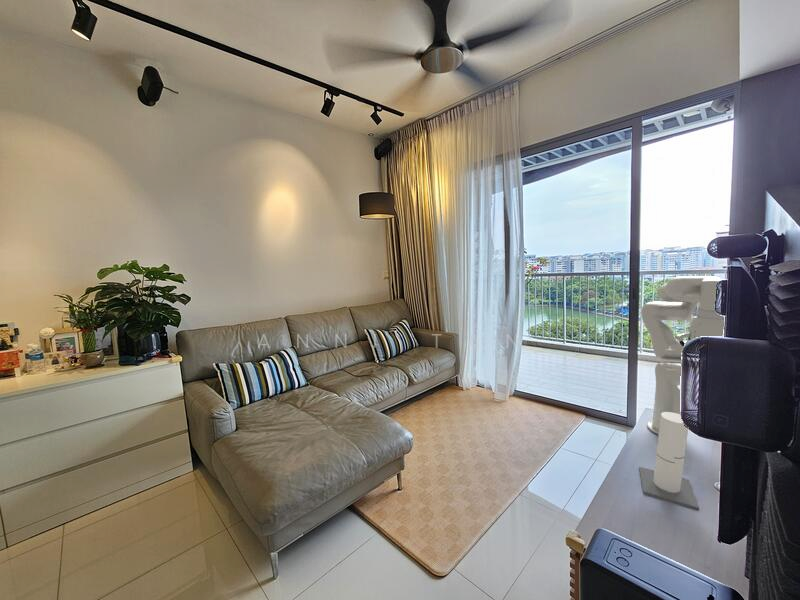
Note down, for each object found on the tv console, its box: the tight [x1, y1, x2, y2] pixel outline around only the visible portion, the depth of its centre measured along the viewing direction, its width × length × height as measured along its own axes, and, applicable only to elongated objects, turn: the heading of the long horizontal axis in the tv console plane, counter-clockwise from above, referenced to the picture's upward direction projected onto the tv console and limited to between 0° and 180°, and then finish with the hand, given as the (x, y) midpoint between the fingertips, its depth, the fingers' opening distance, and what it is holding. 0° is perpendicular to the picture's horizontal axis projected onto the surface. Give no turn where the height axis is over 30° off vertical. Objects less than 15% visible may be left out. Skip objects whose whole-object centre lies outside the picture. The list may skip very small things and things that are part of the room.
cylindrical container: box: [653, 412, 689, 493], centre depth 110 cm, size 7×7×25 cm
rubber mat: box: [638, 466, 700, 510], centre depth 112 cm, size 14×14×1 cm
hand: (705, 361), depth 116 cm, fingers open, 9 cm apart
